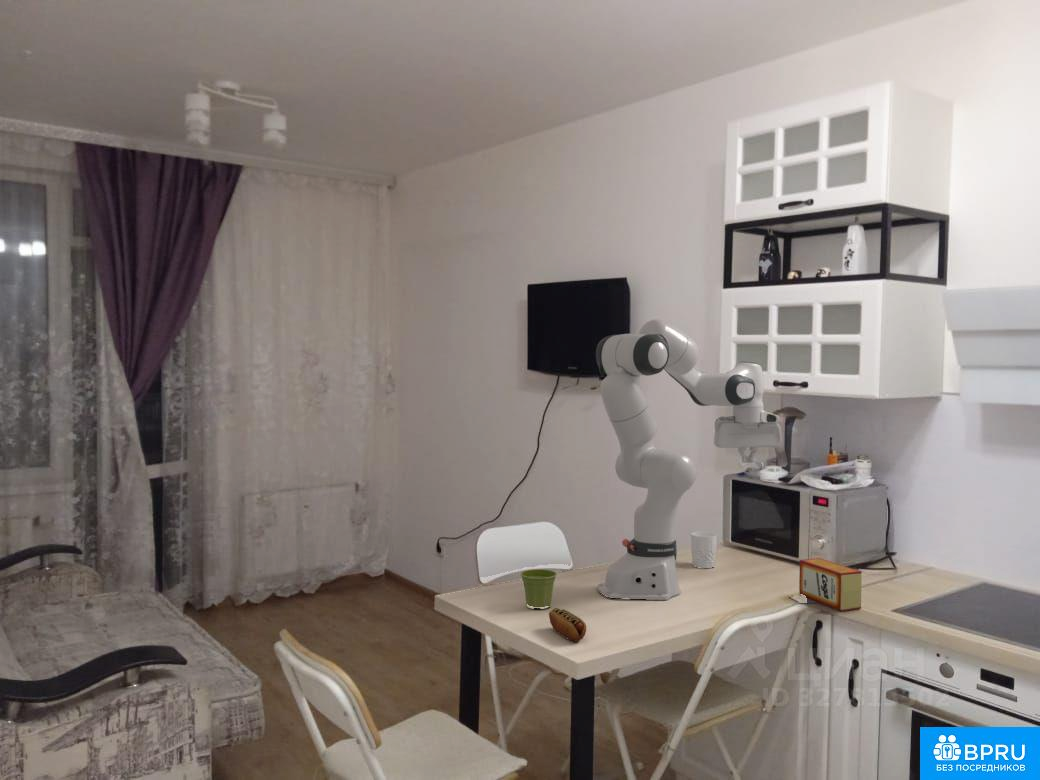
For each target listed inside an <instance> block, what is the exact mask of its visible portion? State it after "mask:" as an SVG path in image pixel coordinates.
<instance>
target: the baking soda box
mask: <svg viewBox="0 0 1040 780" xmlns="http://www.w3.org/2000/svg"><path fill="white" fill-rule="evenodd" d="M798 580H799V587H798V588H799V593H800V594H803V595H805V596H806V598H808V599H811V600H814V601H816V602H819V603H818V604H822V605H824V606H825V607H826V606H827V607H829V608H832V609H834V610H837V611H839V612H844V611H852V610H859V609H862V571H861V570H858V569H854V568H851V567H848V566H845V565H842V564H840V563H835V562H833V561H829V560H826V559H823V558H820V557H818V558H809V559H800V560H799V579H798ZM799 593H798V594H799Z"/></svg>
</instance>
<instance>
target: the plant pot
mask: <svg viewBox="0 0 1040 780" xmlns="http://www.w3.org/2000/svg"><path fill="white" fill-rule="evenodd" d="M557 576H558V573H557V572H556V571H554V570H551V569H545V568H544V569H543V568H542V569H541V568H537V569H534V568H533V569H526V570H523V571H521V572H520V577H521V579H522V582H523V587H524V594H525V602H526V603H525V604H526V605H527V604H528V605H529V606H533V607H545V606H550V605H552V597H553V590H554V585H555V581H556V577H557ZM550 607H551V606H550Z"/></svg>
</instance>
